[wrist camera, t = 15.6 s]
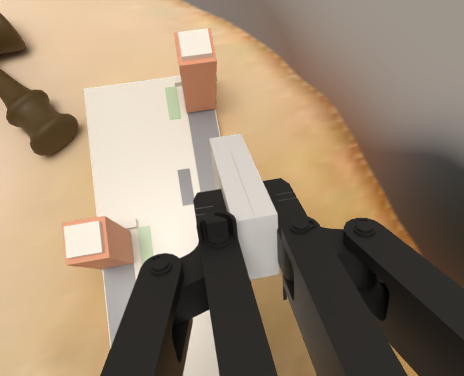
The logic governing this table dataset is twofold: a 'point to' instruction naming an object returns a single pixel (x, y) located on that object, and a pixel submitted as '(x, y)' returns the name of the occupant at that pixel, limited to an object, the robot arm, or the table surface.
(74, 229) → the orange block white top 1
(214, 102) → the orange rectangular block
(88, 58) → the table surface
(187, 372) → the white fixture board
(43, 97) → the kendama
